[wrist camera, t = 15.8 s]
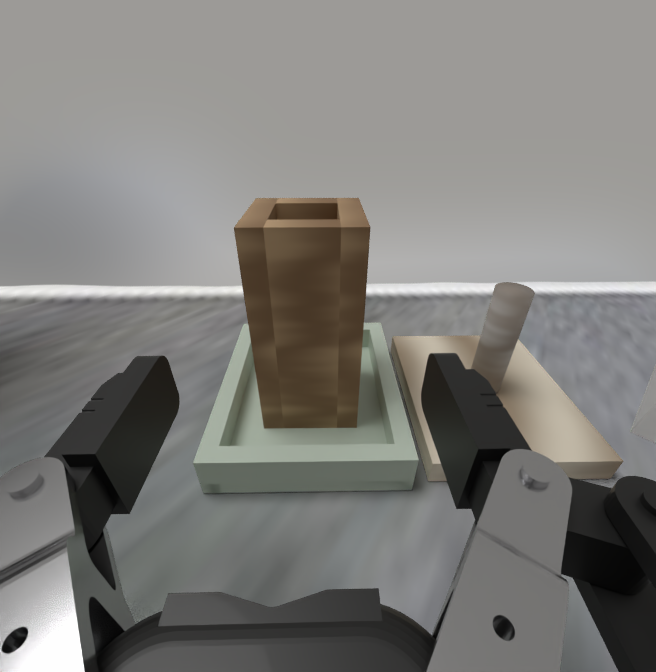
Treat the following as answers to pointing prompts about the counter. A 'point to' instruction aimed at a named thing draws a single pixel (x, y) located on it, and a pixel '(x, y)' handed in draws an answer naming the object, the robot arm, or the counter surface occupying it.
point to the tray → (308, 435)
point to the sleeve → (305, 307)
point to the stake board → (507, 390)
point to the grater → (647, 413)
